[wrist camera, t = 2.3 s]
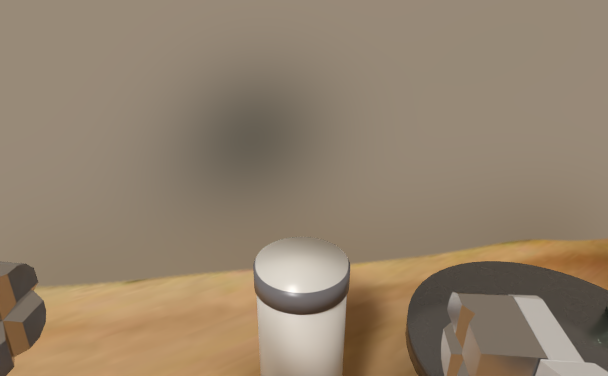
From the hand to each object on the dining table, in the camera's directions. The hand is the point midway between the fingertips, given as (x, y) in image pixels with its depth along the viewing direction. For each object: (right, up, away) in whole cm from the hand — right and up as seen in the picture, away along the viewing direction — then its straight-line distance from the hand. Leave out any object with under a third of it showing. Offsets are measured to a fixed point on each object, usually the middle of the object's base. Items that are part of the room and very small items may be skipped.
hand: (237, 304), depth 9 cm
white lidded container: (+1, -12, +19) cm, 23 cm away
